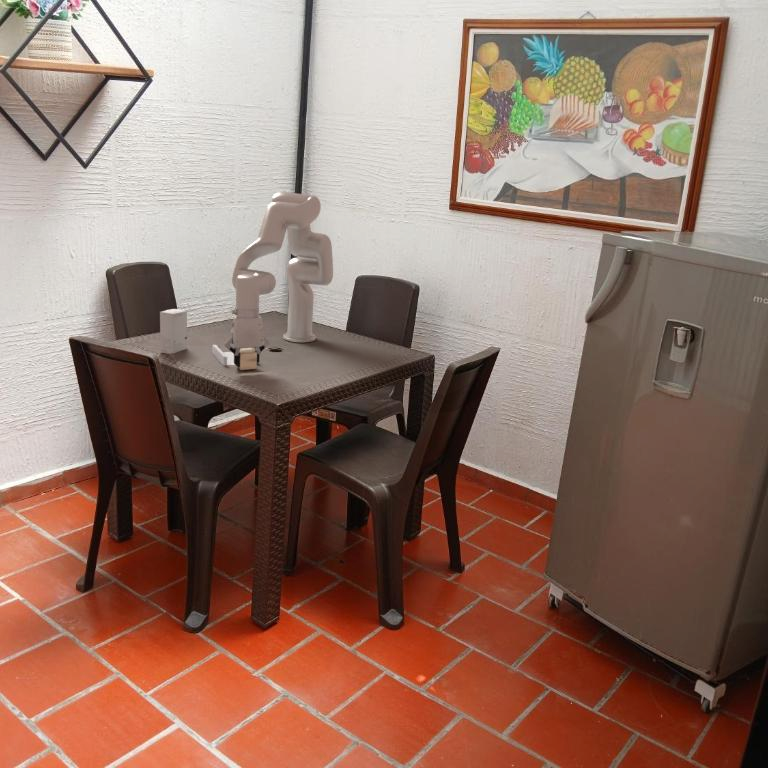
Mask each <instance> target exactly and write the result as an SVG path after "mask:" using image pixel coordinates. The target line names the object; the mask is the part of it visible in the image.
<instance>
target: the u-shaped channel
mask: <svg viewBox="0 0 768 768" xmlns="http://www.w3.org/2000/svg"><path fill="white" fill-rule="evenodd" d="M241 349H246V348H241ZM212 354H213V355H214V357H215V358H216V359H217V360H218V361H219V362H220V363H221V365H222V366H236V365H235V364H234V354H233V353H232V352H231V351H224V352H223V350H222V349H221V348H219V346H218V345H217V344H212Z"/></svg>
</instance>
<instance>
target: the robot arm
mask: <svg viewBox="0 0 768 768" xmlns="http://www.w3.org/2000/svg"><path fill="white" fill-rule="evenodd" d="M321 210H322V209H321V201H320V199H319V197H317V196H316V195H311V194H303V193H298V192H297V193H295V192H287V191H286V192H285V191H278V192H276V193H274V194H273V196H272V197H271V203H269V204H268V205H267V207H266V209H265V211H264V212H265V213H264V215H263V219H262V221H261V225H260V229H259V232H258V235H257V238H256V240H255V241H253V243H250V245H248V246H247V247H246V248H245V249H244V250H243V251H242V252H241V253H240V254H239V256H238V258H237V260H236V263H235V267H234V268H233V269H234V270H233V273H232V277H231V281H232V282H231V283H232V284H231V285H232V286H233V288H234V289H235V306H234V309H231V310H230V312H231V315H234V316H233V319H232V323H231V330H230V331H231V332H230V337H228V339H227V340H226V341H225V342H224V344H223V345H224V347H225V348H226V349H228V350H229V352H232V353H233V354H234V364H235V365H234V366H236V367H237V368H238V367H240V356H239V351H240V349H242V348H252V349H253V350H254V351H255V352H257V367H258V366H259V363H260V355H261V353H262V352H263V351H264V350H265V348H267V347H268V345H270V342H269V340H268V339H267V338H266V337H265V336H264V326H263V325H264V323H263V318H262V316H261V315H260V296H265V295H269V294H271V293H272V292H273V291H274V290H275V288H276V284H277V280H276V277H275V275H274V274H273V273H271V272H268V271H264V270H256V269H250V268H249V267H250V265H251V264H252V263H253V262H254V261H256V260H258V259H259V258H262V257H266V256H268V255H270V254H275V253H276V252H278V251H280V250H281V248H282V247H283V243H284V240H285V236H286V232H287V242H288V248H289V249H288V250H289V252H290V254H291V255H292V256H294V257H293V258H290V260H289V261H288V263H287V266H286V267H287V268H286V272H287V273H286V274H287V279H288V280H287V281H288V305H287V306H288V308H287V309H288V310H287V331H286V332H285V333H283V335H282V338H283V339H284V340H286V341H287V342H292V343H300V344H301V343H310V342H314V341H315V340H316V338H317V337H316V335H315V334H314V333H313V314H314V298H315V296H314V292H313V289H312V288H311V286H310V285H317V286H328V285H330V284H331V283H332V281H333V279H334V278H333V277H334V263H333V258H334V257H333V245H332V240H331V239H330V236H329V235H327V234H326V233H321V232H313V231H312V229H311V224H312V223H313V222H314V221H316V219H317V218H318V217H319V215H320V213H321ZM231 344H232V345H233V346H231Z"/></svg>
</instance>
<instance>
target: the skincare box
mask: <svg viewBox="0 0 768 768" xmlns="http://www.w3.org/2000/svg"><path fill="white" fill-rule="evenodd" d="M187 320H188V310H186V309H181V308H180V309H179V308H171V309H166V310H163V311H159V327H160V328H159V333H160V335H159V336H160V339H159V340H160V341H159V342H160V343H159V344H160V353H161V354H162V353H164V354H167V355H170V356H172V354H176V353H179V352H181V351H184V350H187V349H188V321H187Z"/></svg>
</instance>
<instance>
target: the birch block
mask: <svg viewBox="0 0 768 768" xmlns="http://www.w3.org/2000/svg"><path fill="white" fill-rule="evenodd" d="M239 356H240V367H237V368H238V369H239V370H240V371H245V370H254V369H256V370H257V367H258V366H257V352H255V349H254V348H253V347H252V348H246V349H242V348H241V349H240V351H239Z"/></svg>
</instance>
